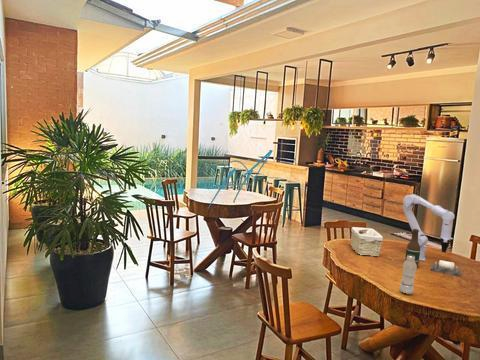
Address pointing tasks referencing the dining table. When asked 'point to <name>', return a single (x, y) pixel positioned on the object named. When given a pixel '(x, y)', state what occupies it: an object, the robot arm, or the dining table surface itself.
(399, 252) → the dining table surface
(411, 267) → the plastic bottle
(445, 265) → the paper roll
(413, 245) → the beer bottle
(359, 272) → the dining table surface
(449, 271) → the roll cradle
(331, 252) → the dining table surface
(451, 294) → the dining table surface
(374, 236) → the storage basket
